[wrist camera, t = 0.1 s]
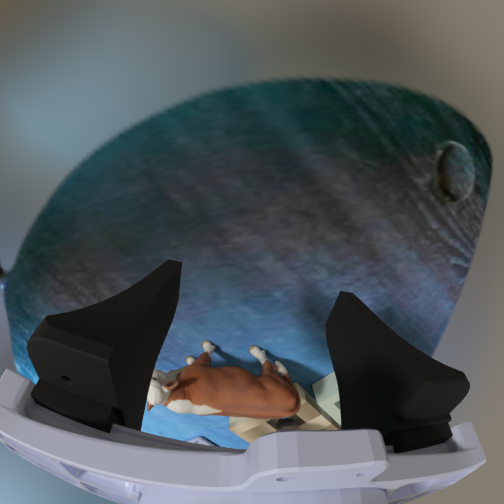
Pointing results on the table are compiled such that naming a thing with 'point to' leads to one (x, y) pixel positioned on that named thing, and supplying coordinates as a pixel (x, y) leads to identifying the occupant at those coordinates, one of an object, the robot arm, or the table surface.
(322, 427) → the socket block
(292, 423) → the round dark knob
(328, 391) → the grey-green hollow square block
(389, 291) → the table surface
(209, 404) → the bull figurine
